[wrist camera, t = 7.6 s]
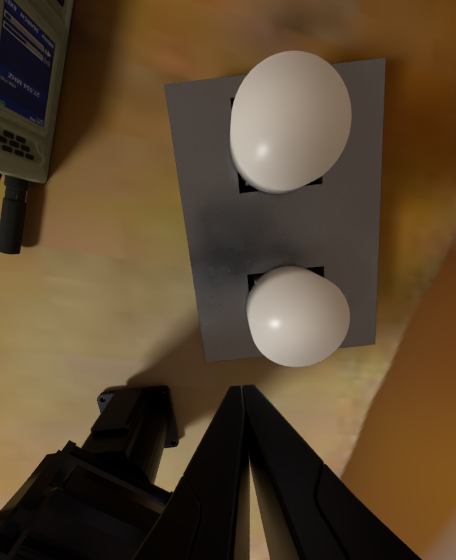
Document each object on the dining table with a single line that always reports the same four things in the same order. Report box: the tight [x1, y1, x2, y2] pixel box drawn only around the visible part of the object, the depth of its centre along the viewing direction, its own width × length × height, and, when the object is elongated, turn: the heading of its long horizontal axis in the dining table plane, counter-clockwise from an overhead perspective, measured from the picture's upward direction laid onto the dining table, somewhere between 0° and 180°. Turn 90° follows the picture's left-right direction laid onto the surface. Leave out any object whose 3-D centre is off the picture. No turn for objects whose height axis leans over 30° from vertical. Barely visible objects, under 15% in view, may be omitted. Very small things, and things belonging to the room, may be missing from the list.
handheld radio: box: [0, 0, 74, 254], centre depth 13 cm, size 7×3×25 cm
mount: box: [164, 58, 386, 362], centre depth 16 cm, size 17×12×4 cm
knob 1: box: [230, 51, 352, 194], centre depth 14 cm, size 6×6×6 cm
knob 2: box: [246, 266, 350, 367], centre depth 16 cm, size 6×6×6 cm
